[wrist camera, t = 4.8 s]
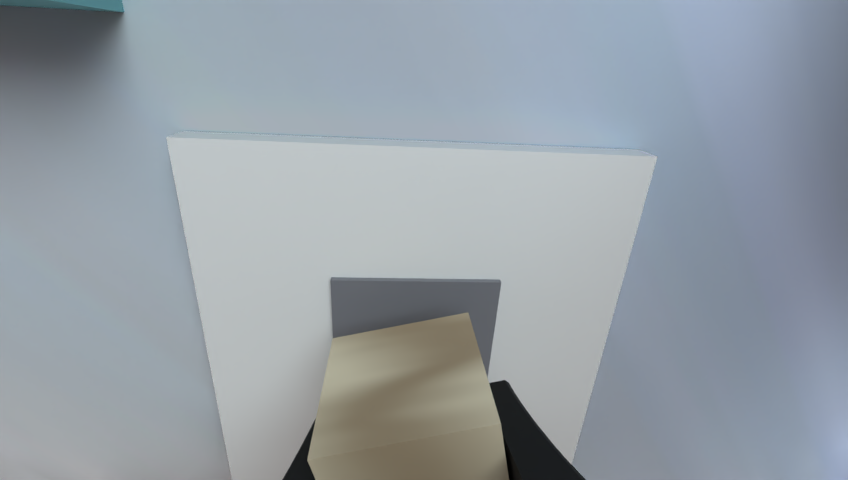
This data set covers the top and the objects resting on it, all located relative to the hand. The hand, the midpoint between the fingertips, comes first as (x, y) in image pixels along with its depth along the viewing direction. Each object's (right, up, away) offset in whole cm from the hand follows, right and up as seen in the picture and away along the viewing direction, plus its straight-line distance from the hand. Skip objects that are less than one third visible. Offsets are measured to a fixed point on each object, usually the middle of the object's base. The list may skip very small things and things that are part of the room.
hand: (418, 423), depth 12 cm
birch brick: (0, +1, +1) cm, 2 cm away
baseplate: (0, +2, +4) cm, 4 cm away
